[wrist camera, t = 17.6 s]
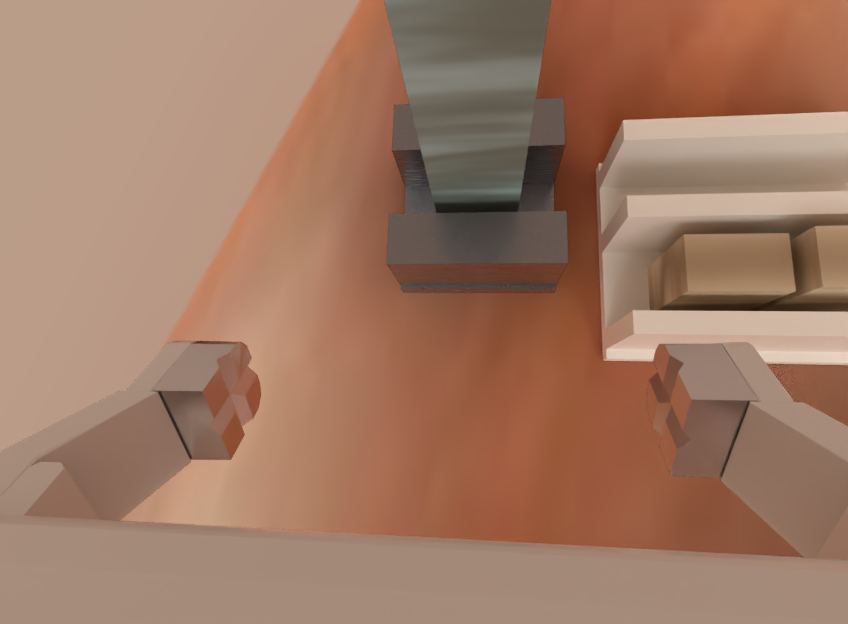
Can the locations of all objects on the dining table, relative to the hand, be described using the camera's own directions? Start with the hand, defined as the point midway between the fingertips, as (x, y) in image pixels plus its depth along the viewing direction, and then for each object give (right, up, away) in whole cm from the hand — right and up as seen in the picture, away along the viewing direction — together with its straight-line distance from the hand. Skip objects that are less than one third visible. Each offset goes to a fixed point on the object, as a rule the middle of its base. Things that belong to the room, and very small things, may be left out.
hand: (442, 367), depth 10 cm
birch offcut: (+16, +2, +21) cm, 27 cm away
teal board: (+3, +8, +24) cm, 25 cm away
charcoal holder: (+3, +8, +25) cm, 26 cm away
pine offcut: (+22, +2, +20) cm, 30 cm away
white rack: (+19, +4, +22) cm, 29 cm away
